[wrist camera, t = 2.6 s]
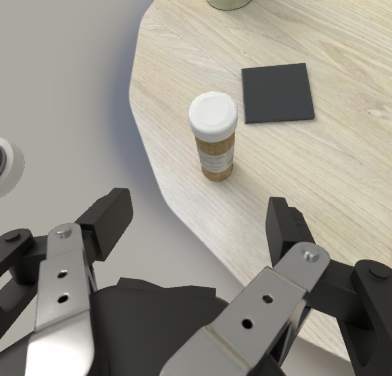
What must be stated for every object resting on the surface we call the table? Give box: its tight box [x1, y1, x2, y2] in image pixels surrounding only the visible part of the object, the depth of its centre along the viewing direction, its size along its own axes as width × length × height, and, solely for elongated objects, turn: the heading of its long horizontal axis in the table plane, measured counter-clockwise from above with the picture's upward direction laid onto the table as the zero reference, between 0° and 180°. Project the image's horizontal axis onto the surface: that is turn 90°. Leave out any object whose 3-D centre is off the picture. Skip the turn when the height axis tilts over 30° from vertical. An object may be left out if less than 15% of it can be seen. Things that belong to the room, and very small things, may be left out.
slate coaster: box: [241, 63, 315, 124], centre depth 35 cm, size 10×10×1 cm
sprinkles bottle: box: [188, 91, 238, 181], centre depth 27 cm, size 5×5×13 cm
